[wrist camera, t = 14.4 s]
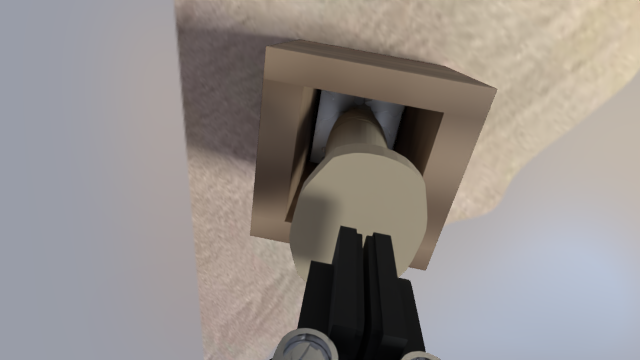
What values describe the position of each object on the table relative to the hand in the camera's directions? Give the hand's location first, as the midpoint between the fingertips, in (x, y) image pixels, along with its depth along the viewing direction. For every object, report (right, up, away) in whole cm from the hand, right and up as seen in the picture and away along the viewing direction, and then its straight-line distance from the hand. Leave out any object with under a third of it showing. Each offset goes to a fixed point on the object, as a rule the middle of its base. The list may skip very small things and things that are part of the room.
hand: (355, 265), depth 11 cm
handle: (+2, +7, +15) cm, 17 cm away
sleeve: (+2, +7, +16) cm, 18 cm away
